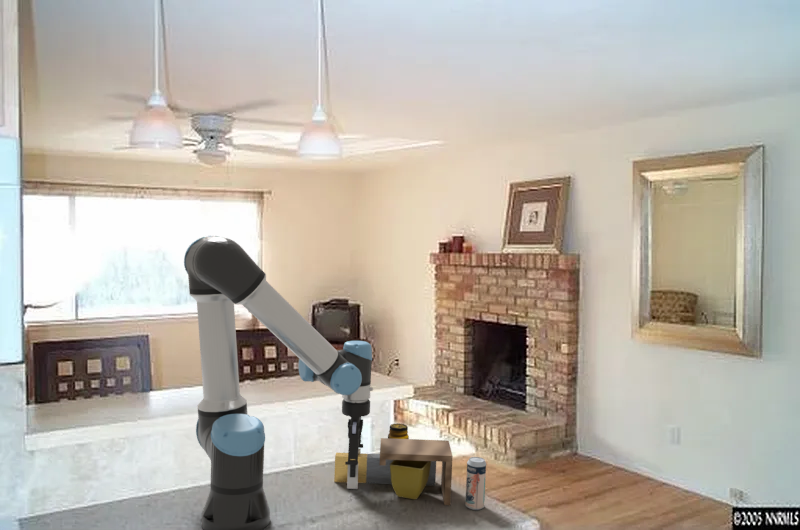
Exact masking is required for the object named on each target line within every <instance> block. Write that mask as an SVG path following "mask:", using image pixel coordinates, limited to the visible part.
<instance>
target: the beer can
mask: <svg viewBox="0 0 800 530" xmlns="http://www.w3.org/2000/svg"><path fill="white" fill-rule="evenodd" d="M486 472H487V462H486V460H485V459H484V457H480V456H471V457H469V459H468V460H467V462H466V479H465V480H466V481H465V482H466V484H465V503H464V505H465V507H466V508H468V509H469V510H472V511H473V510H474V511H480V510H482V509H484V507H485V498H486V495H485V494H486V477H487V476H486V475H487V473H486Z"/></svg>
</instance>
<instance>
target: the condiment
mask: <svg viewBox="0 0 800 530" xmlns="http://www.w3.org/2000/svg"><path fill="white" fill-rule="evenodd" d="M388 429H389V431H388V434H387V438H391V439H410V437H409V434H408V433H409V432H408V430H409V426H408V425H407V424H405V423H399V422H398V423H397V422H395V423H392V424H390V425H389V428H388Z"/></svg>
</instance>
